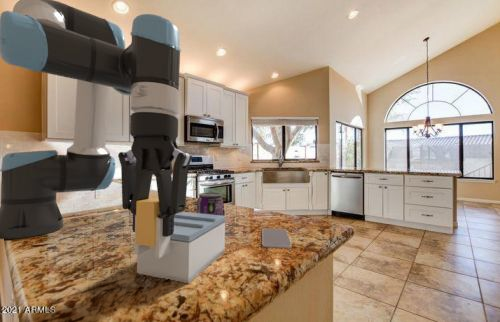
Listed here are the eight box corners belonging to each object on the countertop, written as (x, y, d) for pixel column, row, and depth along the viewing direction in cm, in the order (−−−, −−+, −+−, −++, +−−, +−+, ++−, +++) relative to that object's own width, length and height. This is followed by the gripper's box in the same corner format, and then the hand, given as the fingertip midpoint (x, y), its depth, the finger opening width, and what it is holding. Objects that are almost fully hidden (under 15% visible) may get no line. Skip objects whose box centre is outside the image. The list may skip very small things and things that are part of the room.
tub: (137, 273, 43) (137, 235, 43) (183, 245, 57) (184, 217, 57) (188, 283, 40) (189, 242, 40) (224, 251, 54) (225, 221, 54)
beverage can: (217, 242, 60) (218, 196, 60) (191, 240, 61) (192, 195, 61) (225, 234, 67) (226, 192, 67) (202, 232, 68) (203, 191, 68)
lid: (116, 249, 39) (117, 199, 39) (183, 221, 58) (184, 187, 58) (174, 260, 36) (175, 204, 36) (226, 226, 54) (226, 190, 54)
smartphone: (286, 228, 72) (292, 245, 57) (286, 231, 72) (292, 249, 57) (262, 228, 72) (262, 244, 57) (262, 231, 72) (262, 248, 57)
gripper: (97, 112, 38) (94, 254, 38) (184, 107, 33) (181, 271, 33) (133, 120, 45) (131, 240, 45) (209, 116, 40) (206, 251, 40)
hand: (152, 252), depth 39 cm, fingers closed on lid, 3 cm apart
